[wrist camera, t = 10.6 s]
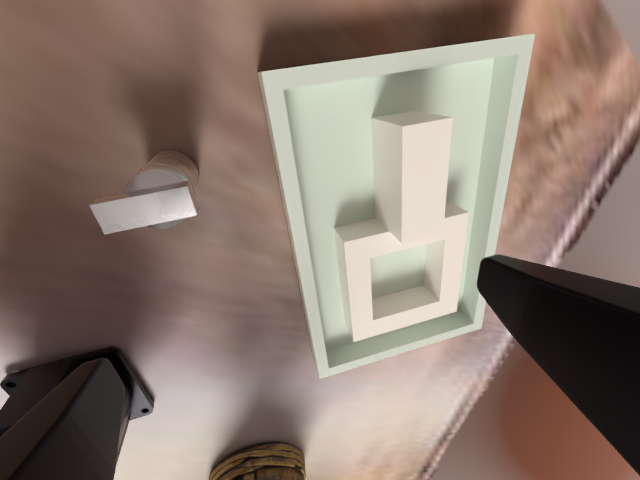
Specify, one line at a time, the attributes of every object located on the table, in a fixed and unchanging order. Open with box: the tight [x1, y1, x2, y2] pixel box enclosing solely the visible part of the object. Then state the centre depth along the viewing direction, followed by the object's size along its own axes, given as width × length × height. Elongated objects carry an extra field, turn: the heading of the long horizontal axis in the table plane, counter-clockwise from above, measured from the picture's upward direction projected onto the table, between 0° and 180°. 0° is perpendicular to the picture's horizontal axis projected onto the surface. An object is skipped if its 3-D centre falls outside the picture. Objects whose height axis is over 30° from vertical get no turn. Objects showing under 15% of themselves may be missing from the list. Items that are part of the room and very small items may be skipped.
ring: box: [334, 111, 469, 342], centre depth 19 cm, size 14×8×4 cm, turn 7°
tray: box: [257, 34, 535, 379], centre depth 20 cm, size 20×14×2 cm
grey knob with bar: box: [89, 150, 199, 234], centre depth 14 cm, size 2×3×5 cm
